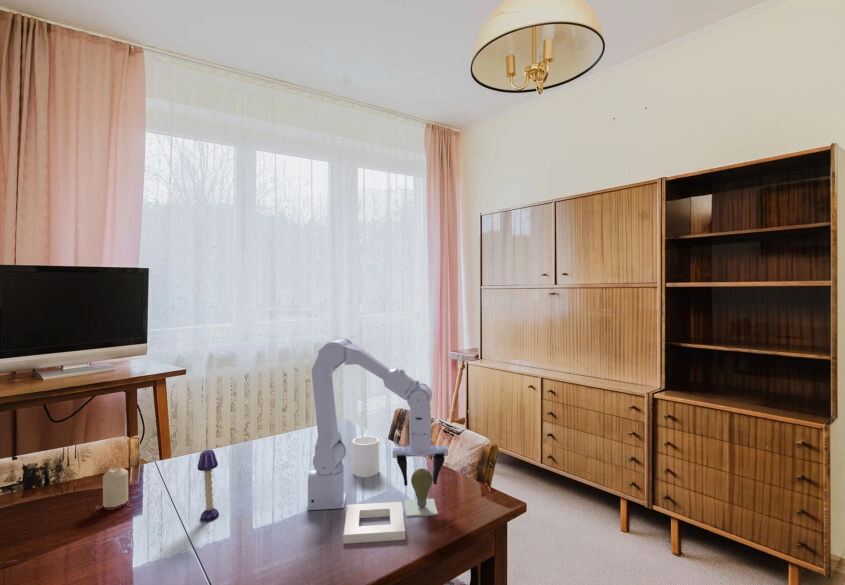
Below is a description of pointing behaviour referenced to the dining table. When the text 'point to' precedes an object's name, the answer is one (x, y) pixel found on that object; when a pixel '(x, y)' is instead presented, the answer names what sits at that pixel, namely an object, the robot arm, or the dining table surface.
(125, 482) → the candle
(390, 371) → the robot arm
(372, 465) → the cup
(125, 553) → the dining table surface
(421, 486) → the light bulb
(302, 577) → the dining table surface
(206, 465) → the toy lamp
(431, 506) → the rubber pad
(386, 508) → the socket block
